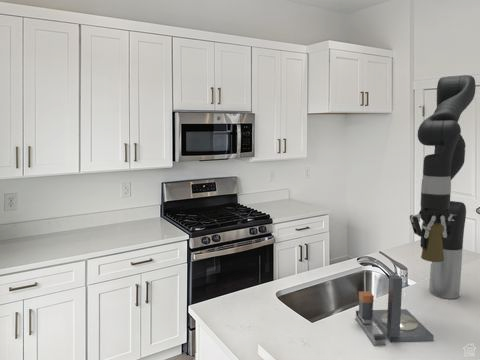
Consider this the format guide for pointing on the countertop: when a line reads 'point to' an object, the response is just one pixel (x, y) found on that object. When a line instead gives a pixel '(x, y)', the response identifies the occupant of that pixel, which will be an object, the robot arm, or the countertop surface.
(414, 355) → the countertop surface
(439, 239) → the cork
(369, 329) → the lever rail
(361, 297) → the lever
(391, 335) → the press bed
